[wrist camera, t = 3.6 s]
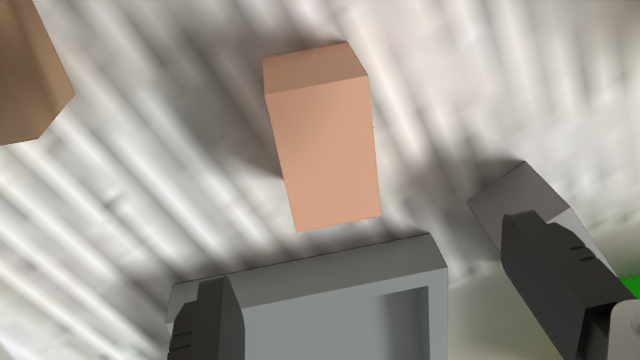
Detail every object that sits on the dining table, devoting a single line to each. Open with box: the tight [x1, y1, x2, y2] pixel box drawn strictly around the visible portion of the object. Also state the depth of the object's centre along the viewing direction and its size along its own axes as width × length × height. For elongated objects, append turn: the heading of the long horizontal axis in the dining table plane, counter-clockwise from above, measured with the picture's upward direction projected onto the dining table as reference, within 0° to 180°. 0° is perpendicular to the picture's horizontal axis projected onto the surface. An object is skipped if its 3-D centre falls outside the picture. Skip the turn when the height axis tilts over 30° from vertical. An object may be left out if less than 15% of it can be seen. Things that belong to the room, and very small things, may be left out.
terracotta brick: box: [262, 42, 381, 233], centre depth 18 cm, size 6×4×4 cm, turn 9°
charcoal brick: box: [466, 161, 617, 277], centre depth 23 cm, size 6×4×4 cm, turn 41°
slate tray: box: [165, 234, 448, 360], centre depth 27 cm, size 14×14×3 cm
